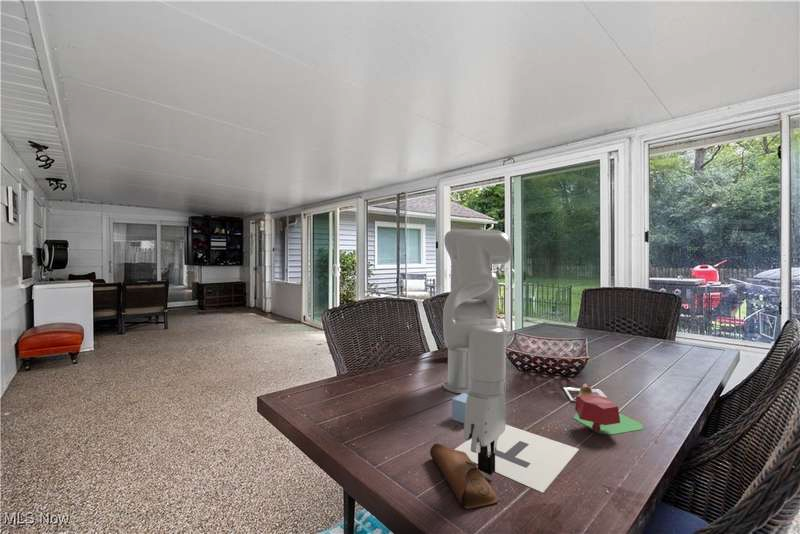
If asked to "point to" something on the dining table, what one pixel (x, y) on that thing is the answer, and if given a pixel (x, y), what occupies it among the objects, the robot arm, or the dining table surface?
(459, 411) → the blue cube
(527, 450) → the letter mat
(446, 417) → the dining table surface
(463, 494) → the sunglasses case
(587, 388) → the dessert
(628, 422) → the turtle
